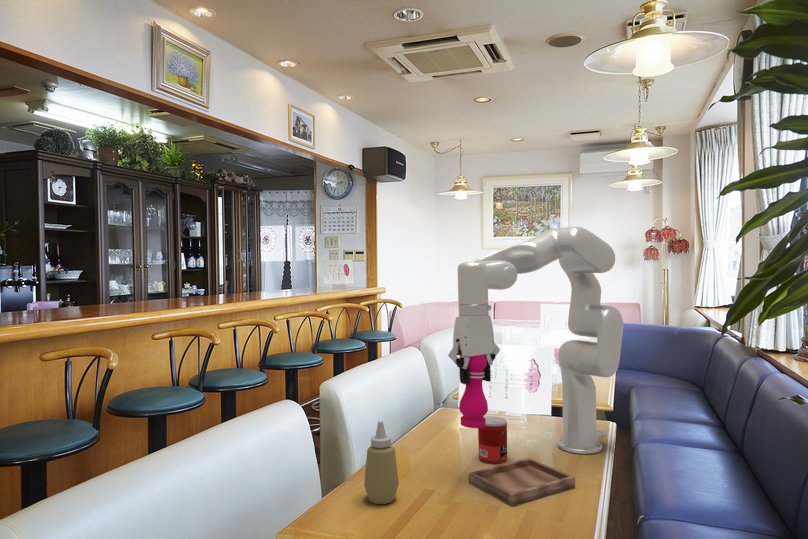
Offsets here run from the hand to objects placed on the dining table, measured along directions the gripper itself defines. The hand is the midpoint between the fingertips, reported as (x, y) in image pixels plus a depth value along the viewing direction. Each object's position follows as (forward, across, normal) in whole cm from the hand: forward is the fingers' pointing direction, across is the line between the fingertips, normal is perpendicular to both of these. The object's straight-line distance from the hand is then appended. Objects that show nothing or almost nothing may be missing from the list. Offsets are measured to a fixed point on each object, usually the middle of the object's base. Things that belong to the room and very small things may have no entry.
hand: (475, 381), depth 139 cm
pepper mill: (+11, +1, 0) cm, 11 cm away
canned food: (+25, -12, -10) cm, 30 cm away
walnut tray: (+25, -7, +8) cm, 27 cm away
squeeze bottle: (+25, +26, -2) cm, 36 cm away
